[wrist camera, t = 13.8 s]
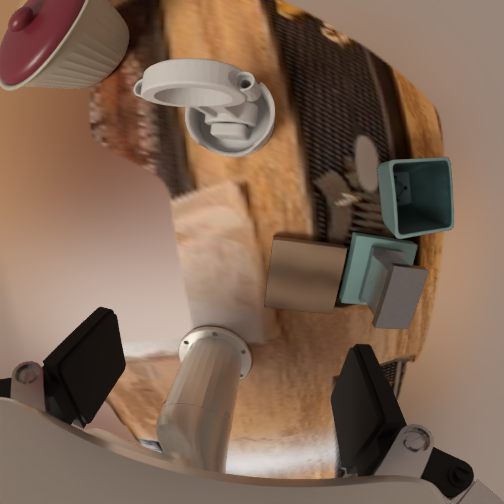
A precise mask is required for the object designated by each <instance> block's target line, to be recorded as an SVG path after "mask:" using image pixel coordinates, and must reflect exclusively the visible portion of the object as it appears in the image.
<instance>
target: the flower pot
mask: <svg viewBox="0 0 504 504" xmlns="http://www.w3.org/2000/svg"><path fill="white" fill-rule="evenodd" d="M377 176H378V184H379V192H380V201H381V213H382V219H383V221H384V223H385V225H386V226H387V227H388V229H389V230H390V231H391V232H392V233H393V234H394V235H395V236H396V238H398V239H403V238H408V237H413V236H419V235H424V234H430V233H436V232H442V231H448V230H451V229H453V227H454V206H453V186H452V172H451V163H450V160H449V158H448V157H437V158H419V159H399V160H390V161H387V162H383V163H381V164H379V165H378V167H377ZM394 176H396V179H394ZM404 186H406V187H407V189H406V190H405V189H404ZM396 198H398V201H396Z"/></svg>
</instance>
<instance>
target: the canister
mask: <svg viewBox="0 0 504 504" xmlns="http://www.w3.org/2000/svg"><path fill="white" fill-rule="evenodd" d="M129 38H130V37H129V30H128V26H127V24H126V23H125V21H124V19H123V18H122V17H121V15H120V14H119V13H118V12H117V10H116V9H115V8H114V6H113V5H112V4H111V3H110V2H109V1H108V0H28V1H27V2H26V3H25V4H24V6H23V7H21V8H20V9H18V10H17V11H16V12H15V13H14V14H13V15H12V17H11V18H10V20H9V24H8V29H7V31H6V34H5V36H4V38H3V41H2V44H1V46H0V86H1V87H2V88H3V89H5V90H15V89H18V88H20V87H22V86H32V87H53V88H73V89H77V88H85V87H90V86H92V85H95V84H97V83H98V82H101V81H102V80H103V79H105V78H106V77H107V76H108V75H109V74H111V73H112V71H113V70H115V69H116V67H117V66H118V65H119V63H120V62H121V60H122V59H123V56H124V55H125V53H126V50H127V49H128V44H129Z"/></svg>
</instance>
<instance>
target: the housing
mask: <svg viewBox="0 0 504 504" xmlns="http://www.w3.org/2000/svg"><path fill="white" fill-rule="evenodd" d="M404 255H405V252H403V251H402V250H398V249H391V248H385V247H378V246H371V249H370V253H369V258H368V262H367V266H366V270H365V274H364V278H363V282H362V286H361V289H360V293H359V297H358V299H359V301H360V302H365V303H367V305H368V306H369V308H370V310H371V311H372V313H373V314H374V319H373V321H372V324H373V325H374V327H375V328H387V329H408V328H409V326H410V323H411V320H412V318H413V315H414V313H415V310H416V307H417V304H418V302H419V299H420V296H421V293H422V290H423V287H424V284H425V280H426V277H427V274H428V270H427V269H426V268H425V267H421V266H414V265H409V264H408V263H407V262H406V261H405V260H403V259H404Z"/></svg>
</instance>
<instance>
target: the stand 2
mask: <svg viewBox="0 0 504 504" xmlns="http://www.w3.org/2000/svg"><path fill="white" fill-rule="evenodd" d="M371 246H378V247H385V248H391V249H398V250H402V251H403V252H405V255H404V259H403V260H405V261H406V262H407V263H408V264H409V265H413V262H414V258H415V254H416V250H417V246H418V245H416V244H415V243H413V242H411V241H406V240H400V239H394V238H388V237H382V236H375V235H369V234H363V233H356V232H353V234H352V240H351V245H350V250H349V254H348V259H347V264H346V268H345V273H344V277H343V281H342V285H341V289H340V293H339V298H340V300H341V303H350V304H363V305H367V303H365V302H360V301H359V299H358V297H359V293H360V289H361V286H362V282H363V278H364V274H365V270H366V266H367V262H368V258H369V253H370V249H371Z"/></svg>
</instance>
